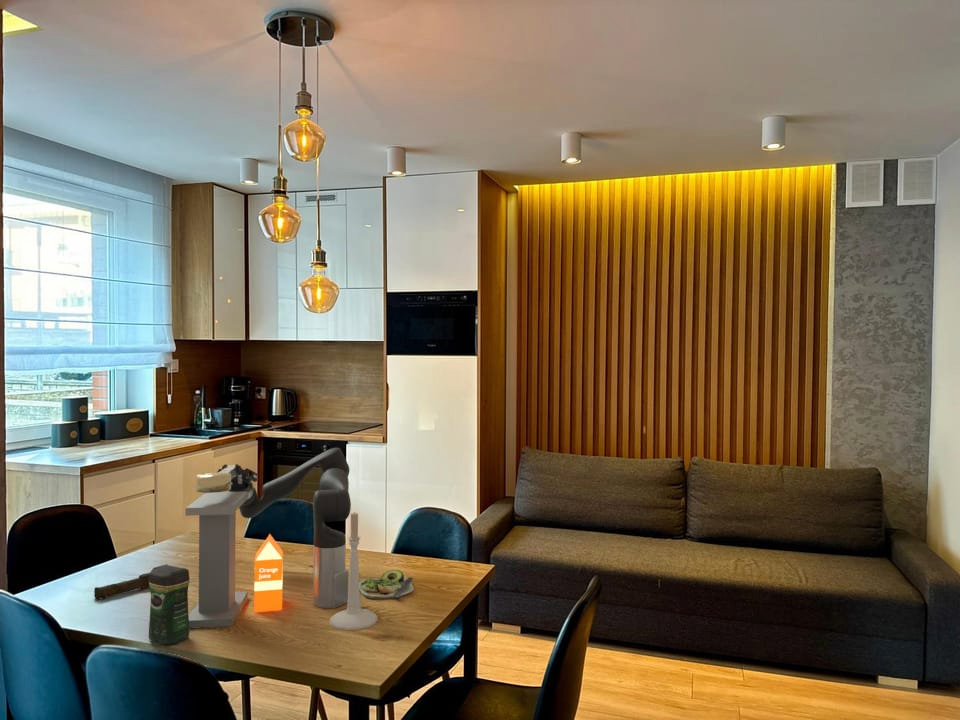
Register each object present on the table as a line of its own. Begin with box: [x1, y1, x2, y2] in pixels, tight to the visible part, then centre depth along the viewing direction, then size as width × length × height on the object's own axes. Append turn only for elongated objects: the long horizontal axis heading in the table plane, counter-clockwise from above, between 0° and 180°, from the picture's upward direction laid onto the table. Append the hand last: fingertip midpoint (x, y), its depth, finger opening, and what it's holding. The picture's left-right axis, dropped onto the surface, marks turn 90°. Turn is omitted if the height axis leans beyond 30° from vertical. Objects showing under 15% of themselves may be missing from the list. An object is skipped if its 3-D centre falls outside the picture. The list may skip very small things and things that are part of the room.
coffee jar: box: [148, 564, 191, 646], centre depth 175 cm, size 10×8×19 cm
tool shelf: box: [185, 491, 249, 629], centre depth 194 cm, size 22×12×32 cm, turn 8°
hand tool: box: [93, 572, 150, 601], centre depth 210 cm, size 19×4×5 cm, turn 138°
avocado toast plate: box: [359, 569, 415, 600], centre depth 213 cm, size 19×18×5 cm
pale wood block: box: [195, 464, 237, 494], centre depth 199 cm, size 30×9×4 cm, turn 8°
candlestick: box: [329, 511, 378, 631], centre depth 188 cm, size 13×13×30 cm
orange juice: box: [253, 533, 284, 613], centre depth 200 cm, size 8×9×20 cm
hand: (230, 467), depth 210 cm, fingers closed on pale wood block, 2 cm apart
